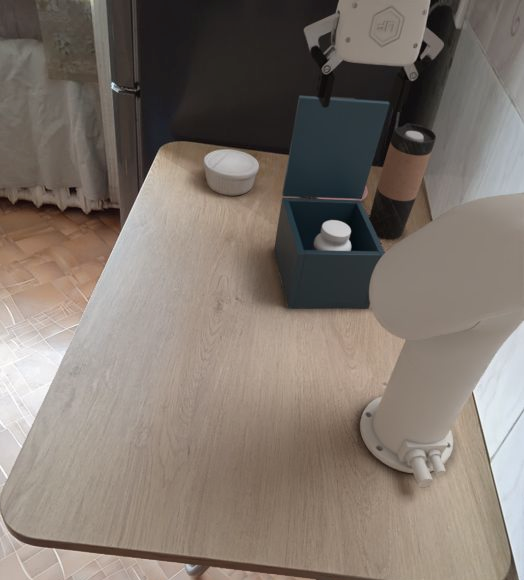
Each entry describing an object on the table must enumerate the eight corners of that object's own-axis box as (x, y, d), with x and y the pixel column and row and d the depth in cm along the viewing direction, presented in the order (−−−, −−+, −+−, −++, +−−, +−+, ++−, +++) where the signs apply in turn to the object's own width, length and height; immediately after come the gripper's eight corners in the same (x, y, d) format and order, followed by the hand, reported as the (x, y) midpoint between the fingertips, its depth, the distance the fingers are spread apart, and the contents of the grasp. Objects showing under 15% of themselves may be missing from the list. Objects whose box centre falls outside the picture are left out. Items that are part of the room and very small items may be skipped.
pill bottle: (312, 295, 95) (325, 240, 87) (300, 273, 99) (311, 218, 91) (346, 292, 96) (362, 237, 89) (332, 270, 100) (346, 216, 93)
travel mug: (403, 243, 111) (437, 146, 97) (364, 235, 111) (393, 137, 97) (404, 223, 116) (436, 128, 102) (367, 215, 117) (394, 119, 103)
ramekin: (200, 171, 122) (201, 147, 118) (251, 172, 124) (253, 149, 120) (205, 198, 114) (207, 174, 110) (260, 199, 116) (263, 175, 113)
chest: (368, 308, 96) (386, 255, 88) (287, 308, 93) (298, 253, 85) (346, 252, 107) (360, 200, 99) (273, 250, 104) (282, 197, 96)
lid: (389, 103, 86) (381, 89, 89) (300, 97, 83) (294, 82, 87) (361, 199, 98) (355, 183, 102) (282, 196, 96) (278, 180, 99)
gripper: (326, -55, 57) (299, 114, 69) (483, -36, 60) (431, 122, 72) (312, -70, 62) (288, 89, 74) (457, -53, 65) (412, 98, 77)
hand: (359, 105), depth 73 cm, fingers open, 9 cm apart
